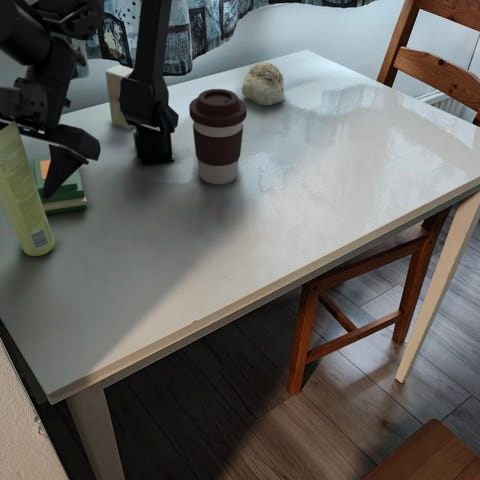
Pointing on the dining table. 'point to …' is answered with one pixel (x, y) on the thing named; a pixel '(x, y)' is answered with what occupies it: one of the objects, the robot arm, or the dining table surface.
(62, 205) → the stack of green books
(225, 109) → the coffee cup
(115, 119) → the box
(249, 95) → the decorative item
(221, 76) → the dining table surface
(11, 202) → the tube
